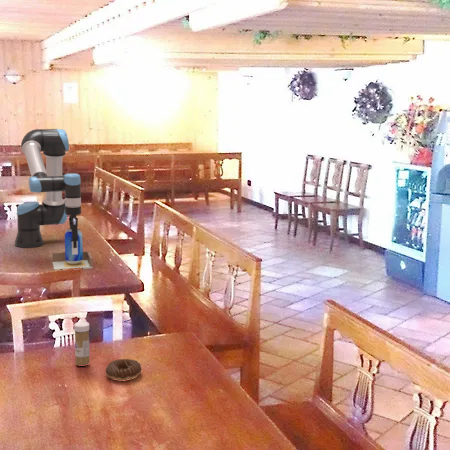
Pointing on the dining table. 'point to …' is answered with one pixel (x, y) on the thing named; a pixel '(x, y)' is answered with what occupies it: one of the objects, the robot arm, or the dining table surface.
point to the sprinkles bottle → (81, 343)
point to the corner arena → (61, 263)
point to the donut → (123, 369)
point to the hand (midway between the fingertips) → (74, 252)
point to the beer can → (68, 247)
